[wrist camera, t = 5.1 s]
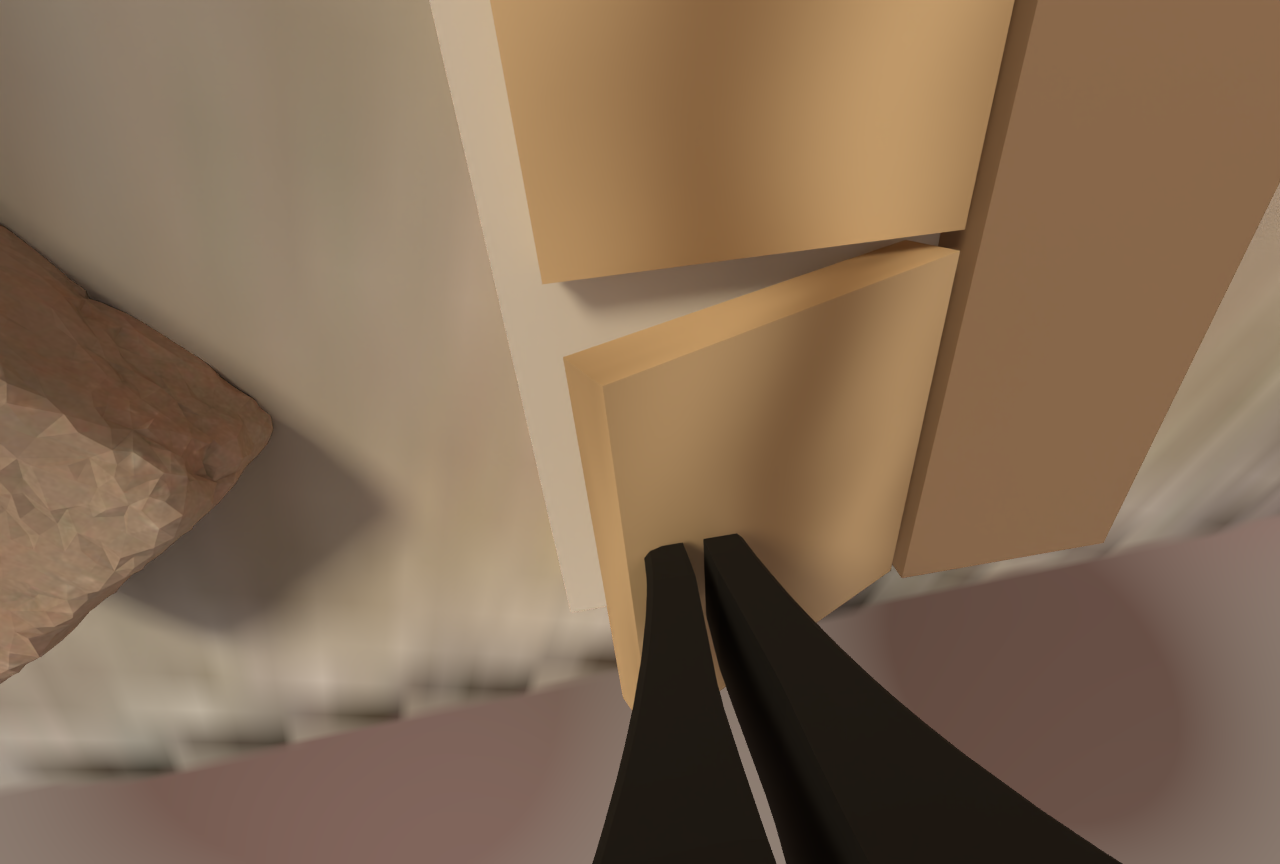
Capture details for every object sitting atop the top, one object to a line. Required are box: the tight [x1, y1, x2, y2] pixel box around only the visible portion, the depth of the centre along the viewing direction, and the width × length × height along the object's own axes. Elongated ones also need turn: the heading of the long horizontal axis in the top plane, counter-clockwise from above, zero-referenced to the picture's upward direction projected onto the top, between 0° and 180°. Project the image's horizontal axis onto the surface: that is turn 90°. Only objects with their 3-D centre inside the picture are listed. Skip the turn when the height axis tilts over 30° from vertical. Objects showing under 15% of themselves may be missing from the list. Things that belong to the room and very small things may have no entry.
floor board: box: [429, 0, 1280, 613], centre depth 12 cm, size 16×20×3 cm
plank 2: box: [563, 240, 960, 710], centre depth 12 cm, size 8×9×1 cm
